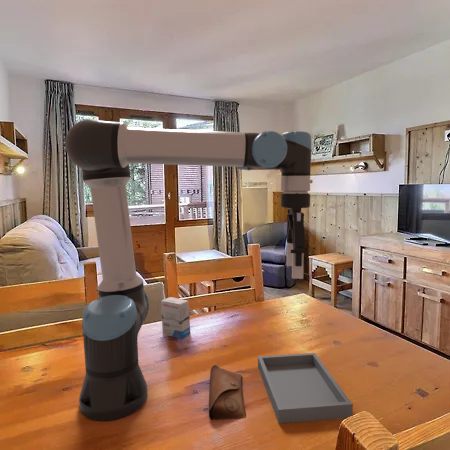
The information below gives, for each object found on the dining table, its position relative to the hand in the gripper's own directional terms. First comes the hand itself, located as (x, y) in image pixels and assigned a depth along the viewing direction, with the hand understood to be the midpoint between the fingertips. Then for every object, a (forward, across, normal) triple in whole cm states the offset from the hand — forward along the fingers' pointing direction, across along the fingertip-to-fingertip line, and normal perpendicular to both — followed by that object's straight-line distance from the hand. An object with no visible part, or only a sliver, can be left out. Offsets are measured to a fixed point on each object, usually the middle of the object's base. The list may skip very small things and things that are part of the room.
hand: (294, 271), depth 96 cm
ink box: (+26, +18, +36) cm, 48 cm away
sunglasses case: (+27, -16, +17) cm, 36 cm away
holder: (+26, -13, 0) cm, 29 cm away
